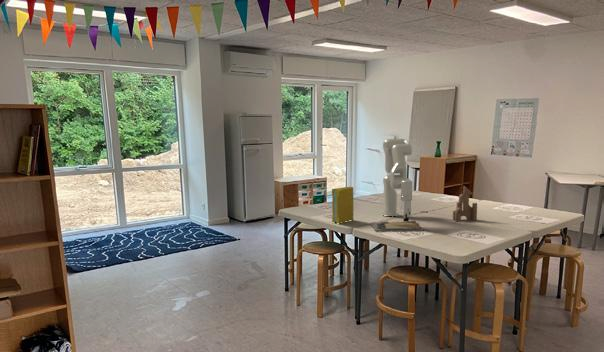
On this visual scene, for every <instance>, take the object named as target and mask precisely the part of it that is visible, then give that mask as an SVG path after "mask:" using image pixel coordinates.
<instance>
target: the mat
mask: <svg viewBox="0 0 604 352" xmlns="http://www.w3.org/2000/svg"><path fill="white" fill-rule="evenodd" d="M370 223H371V224H370V226H371V225H372V226H373V227H372V226H371V227H372V228H374V229H375V230H374V229H373V230H374V232H375V231H393V232H425V231H424V229H425V228H423V227H422V226H421V225H419V229H383V230H381V229H377V222H370Z"/></svg>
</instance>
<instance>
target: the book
mask: <svg viewBox="0 0 604 352" xmlns="http://www.w3.org/2000/svg"><path fill="white" fill-rule="evenodd" d="M331 196H332V202H331V203H332V207H331V210H332V216H331V220H332V221H331V223H332V222H336V223H341V222H345V221H349V220H353V221H354V186H343V187H337V188H336V187H335V188H331ZM336 223H335V224H336Z"/></svg>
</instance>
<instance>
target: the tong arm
mask: <svg viewBox="0 0 604 352" xmlns="http://www.w3.org/2000/svg"><path fill="white" fill-rule="evenodd" d="M400 223H417V221H416V220H409V221H387V220H386V221H385V220H384V221H378V222H377V224H378V225H384V224H400Z"/></svg>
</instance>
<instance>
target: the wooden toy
mask: <svg viewBox="0 0 604 352" xmlns="http://www.w3.org/2000/svg"><path fill="white" fill-rule="evenodd" d="M470 195H473V192H472V191H471V190H470V189H469V188H467V186H465V185H463V191H462V193H460V194H459V196H458V202H456V207H455V208H456V209H455V210H452V220H453V221H455V222H461V221H462V217H465V219H466V220H467V221H472V222H477V220H478V219H477V218H478V217H477V216H478V203H477V202H473V203H472V204H471V205H472V206H471V205H470V204H469V203H470Z"/></svg>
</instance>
